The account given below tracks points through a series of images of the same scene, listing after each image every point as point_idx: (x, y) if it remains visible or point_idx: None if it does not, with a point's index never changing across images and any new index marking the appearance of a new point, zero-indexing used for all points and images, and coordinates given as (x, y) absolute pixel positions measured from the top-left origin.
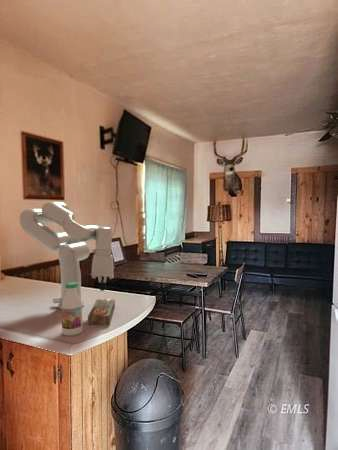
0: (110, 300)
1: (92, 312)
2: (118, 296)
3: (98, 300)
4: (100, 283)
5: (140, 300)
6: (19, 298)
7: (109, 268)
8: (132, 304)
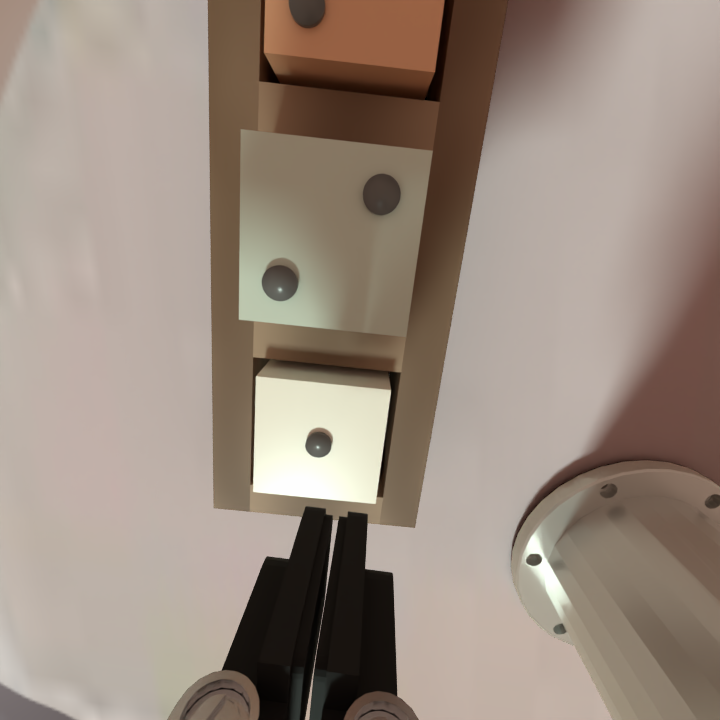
0: None
1: (468, 14)
2: None
3: (392, 270)
4: (359, 654)
5: (37, 587)
6: None
7: None
8: (91, 505)
